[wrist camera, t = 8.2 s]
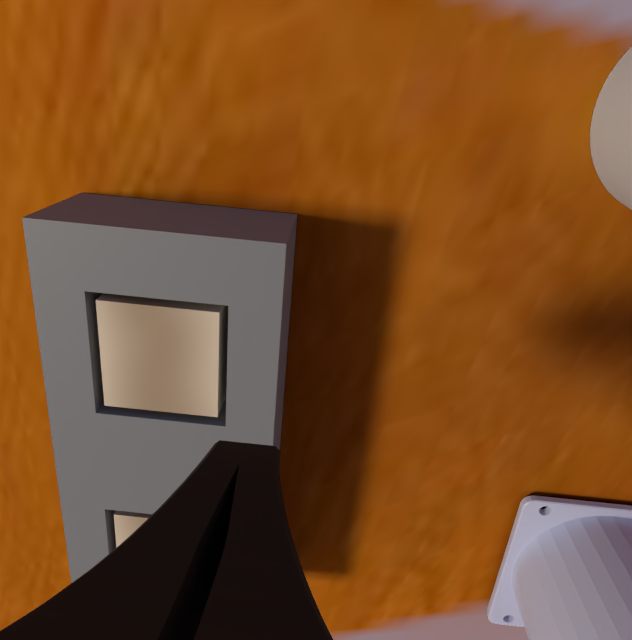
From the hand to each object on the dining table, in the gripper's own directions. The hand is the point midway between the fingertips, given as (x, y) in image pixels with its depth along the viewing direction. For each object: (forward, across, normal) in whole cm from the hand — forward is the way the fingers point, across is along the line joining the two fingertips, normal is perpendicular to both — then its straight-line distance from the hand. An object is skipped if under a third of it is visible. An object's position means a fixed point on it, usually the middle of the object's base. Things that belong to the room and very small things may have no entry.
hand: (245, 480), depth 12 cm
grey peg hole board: (+10, +4, +6) cm, 12 cm away
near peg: (+10, +4, +1) cm, 11 cm away
